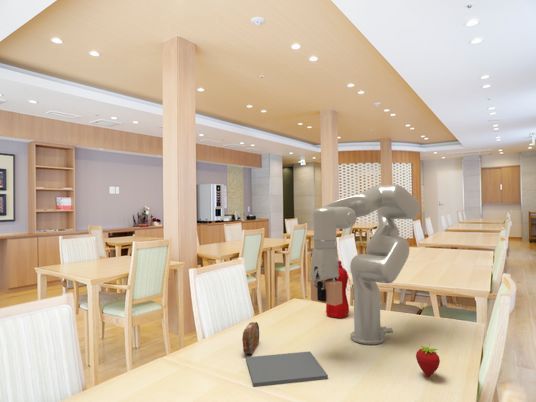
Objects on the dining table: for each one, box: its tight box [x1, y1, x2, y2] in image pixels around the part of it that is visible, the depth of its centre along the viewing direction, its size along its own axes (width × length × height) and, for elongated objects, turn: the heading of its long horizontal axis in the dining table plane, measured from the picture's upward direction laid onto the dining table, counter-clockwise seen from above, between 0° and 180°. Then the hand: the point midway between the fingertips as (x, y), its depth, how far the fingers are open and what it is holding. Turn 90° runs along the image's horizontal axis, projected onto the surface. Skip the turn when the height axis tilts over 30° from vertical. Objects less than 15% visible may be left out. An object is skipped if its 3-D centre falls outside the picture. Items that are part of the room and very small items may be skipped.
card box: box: [310, 278, 342, 306], centre depth 125 cm, size 4×10×7 cm, turn 43°
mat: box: [245, 350, 329, 387], centre depth 117 cm, size 22×18×1 cm
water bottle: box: [325, 259, 352, 319], centre depth 169 cm, size 9×11×25 cm
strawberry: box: [415, 343, 441, 378], centre depth 110 cm, size 6×8×10 cm
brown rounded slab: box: [241, 321, 260, 355], centre depth 133 cm, size 15×3×8 cm, turn 168°
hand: (326, 299), depth 125 cm, fingers closed on card box, 4 cm apart
